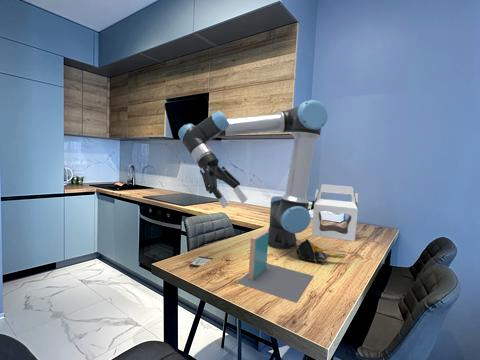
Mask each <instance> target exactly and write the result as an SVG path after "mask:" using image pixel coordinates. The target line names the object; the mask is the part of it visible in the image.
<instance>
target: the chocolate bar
mask: <svg viewBox="0 0 480 360" xmlns="http://www.w3.org/2000/svg"><path fill="white" fill-rule="evenodd" d="M213 259H214V258H212V257H207V256H200V255H199V256H198V257H197V258H196V259H195V260H194V261H192V262H191V263H190V264H189V265H188V266H189V267H190V268H195V269H198V268H199V267H202V266H203V265H204V264H207V263H209V262H210V261H212V260H213Z"/></svg>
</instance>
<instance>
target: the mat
mask: <svg viewBox="0 0 480 360" xmlns="http://www.w3.org/2000/svg"><path fill="white" fill-rule="evenodd" d="M313 278H315V276H314V275H313V274H308V273H305V272H301V271H297V270H293V269H289V268H286V267H282V266H279V265H275V264H271V263H268V262H267V267H266V269H265V270H264V271H263V272H262V273H261V274H260V275H259V276H257V277H256V278H255V279H254V280H249V272H247V273H246V274H245V275H244V276H242V278H240V279H239V280H238V281H237V282H235V283H236V284H238V285H241V286H244V287H247V288H250V289H253V290H256V291H259V292H262V293H265V294H267V295H270V296H275V297H278V298H280V299H284V300H286V301H289V302H293V303H295V304H297V303H298V302H299V300H300V299H301V297H302V296H303V294H304V293H305V291H306V289H307V288H308V286H309V285H310V284H311V281H312V280H313Z"/></svg>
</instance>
